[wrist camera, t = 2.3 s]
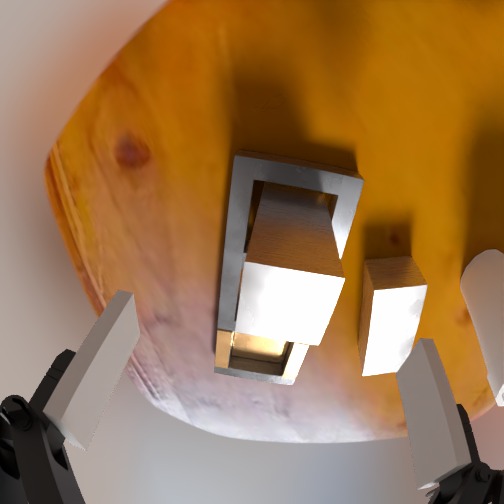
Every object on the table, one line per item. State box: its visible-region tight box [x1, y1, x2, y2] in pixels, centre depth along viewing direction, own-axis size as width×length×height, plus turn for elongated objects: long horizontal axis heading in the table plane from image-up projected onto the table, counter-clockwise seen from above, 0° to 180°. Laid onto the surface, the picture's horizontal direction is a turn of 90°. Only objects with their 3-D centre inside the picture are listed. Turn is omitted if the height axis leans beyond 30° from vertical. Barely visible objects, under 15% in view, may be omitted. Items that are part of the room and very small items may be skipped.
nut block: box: [358, 256, 427, 376], centre depth 26 cm, size 11×4×4 cm, turn 9°
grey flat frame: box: [214, 149, 364, 385], centre depth 27 cm, size 24×9×2 cm, turn 172°
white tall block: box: [235, 182, 345, 345], centre depth 19 cm, size 4×4×11 cm
